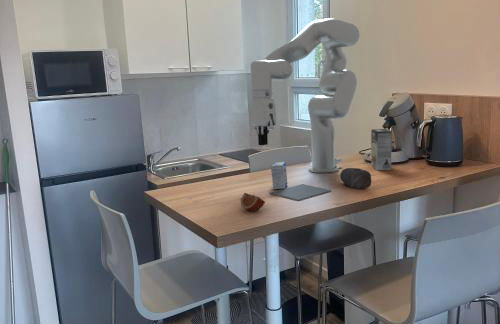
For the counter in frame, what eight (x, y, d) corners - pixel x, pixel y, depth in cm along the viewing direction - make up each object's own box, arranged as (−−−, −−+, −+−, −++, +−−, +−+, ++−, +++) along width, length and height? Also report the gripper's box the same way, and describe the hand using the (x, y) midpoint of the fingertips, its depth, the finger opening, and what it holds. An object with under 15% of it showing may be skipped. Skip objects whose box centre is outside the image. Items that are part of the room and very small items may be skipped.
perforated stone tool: (335, 183, 160) (335, 165, 159) (347, 181, 162) (347, 163, 161) (360, 192, 146) (360, 172, 145) (373, 190, 148) (372, 170, 147)
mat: (302, 184, 160) (302, 183, 160) (331, 191, 149) (331, 190, 149) (270, 193, 150) (270, 192, 150) (298, 201, 140) (298, 199, 139)
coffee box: (370, 166, 186) (370, 129, 183) (385, 165, 186) (385, 128, 183) (376, 170, 177) (376, 131, 174) (392, 169, 177) (392, 130, 174)
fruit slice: (236, 209, 134) (236, 193, 134) (255, 205, 138) (254, 190, 137) (250, 215, 127) (250, 199, 126) (269, 211, 131) (269, 195, 130)
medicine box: (285, 189, 154) (283, 165, 152) (272, 189, 155) (270, 165, 153) (287, 184, 161) (286, 161, 160) (275, 185, 162) (274, 162, 161)
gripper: (283, 94, 154) (284, 145, 157) (256, 94, 166) (258, 142, 169) (267, 95, 150) (268, 147, 153) (241, 95, 161) (242, 144, 164)
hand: (263, 144), depth 161 cm, fingers closed
